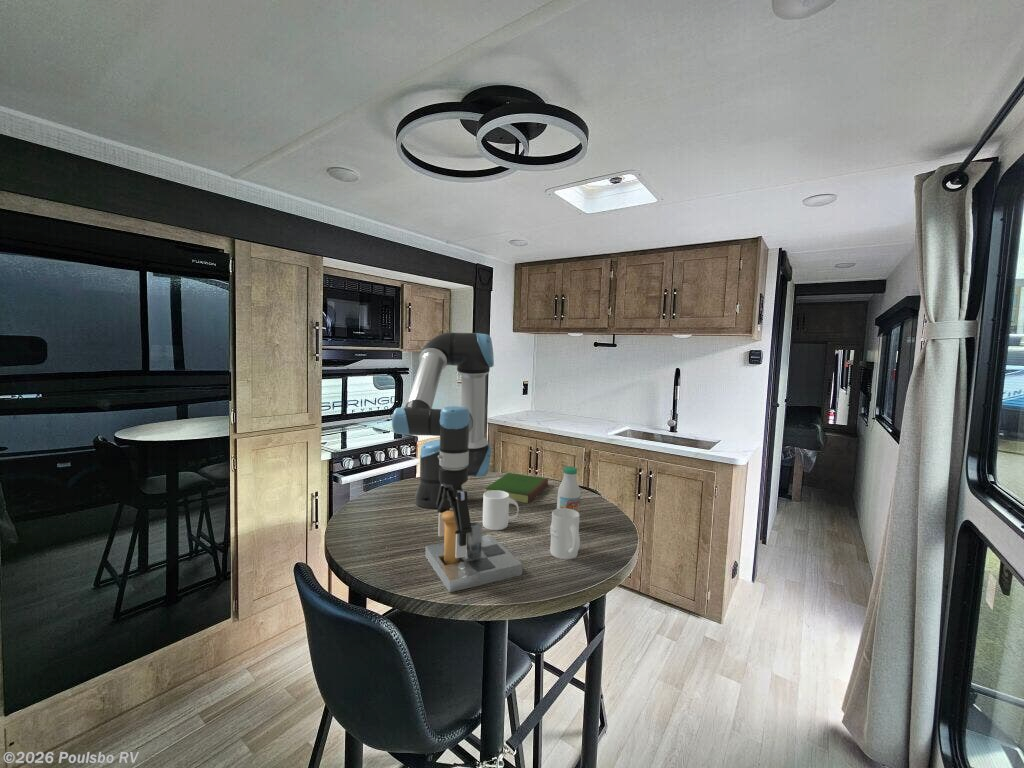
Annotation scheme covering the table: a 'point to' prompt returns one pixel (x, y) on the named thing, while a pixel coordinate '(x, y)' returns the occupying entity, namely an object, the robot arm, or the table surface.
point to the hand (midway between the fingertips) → (451, 545)
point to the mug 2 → (565, 533)
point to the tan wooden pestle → (449, 538)
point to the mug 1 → (497, 510)
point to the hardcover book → (519, 486)
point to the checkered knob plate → (474, 562)
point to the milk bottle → (569, 490)
